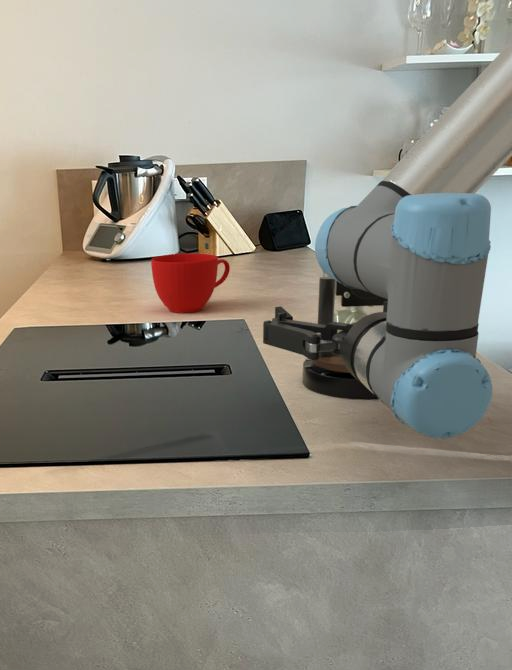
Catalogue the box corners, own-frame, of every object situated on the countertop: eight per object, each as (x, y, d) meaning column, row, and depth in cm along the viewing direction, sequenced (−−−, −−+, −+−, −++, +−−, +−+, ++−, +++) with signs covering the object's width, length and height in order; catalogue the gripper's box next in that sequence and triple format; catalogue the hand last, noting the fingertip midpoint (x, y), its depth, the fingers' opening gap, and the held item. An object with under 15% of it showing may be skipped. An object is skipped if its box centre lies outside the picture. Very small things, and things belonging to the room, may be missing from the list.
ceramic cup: (247, 307, 155) (247, 255, 152) (174, 319, 148) (173, 264, 144) (211, 298, 166) (210, 249, 162) (141, 309, 158) (139, 258, 154)
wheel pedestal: (422, 371, 108) (424, 352, 107) (412, 403, 96) (414, 381, 95) (313, 364, 114) (314, 346, 113) (290, 394, 101) (291, 373, 100)
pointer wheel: (390, 346, 110) (397, 265, 106) (428, 370, 98) (437, 280, 94) (299, 351, 109) (302, 271, 105) (327, 376, 97) (331, 286, 93)
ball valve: (317, 327, 136) (321, 220, 129) (366, 326, 136) (373, 218, 129) (333, 352, 120) (339, 231, 113) (389, 351, 119) (399, 229, 112)
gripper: (264, 399, 79) (232, 349, 99) (506, 385, 80) (427, 339, 100) (265, 325, 76) (232, 289, 96) (517, 311, 77) (433, 278, 97)
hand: (331, 314), depth 98 cm, fingers open, 13 cm apart
